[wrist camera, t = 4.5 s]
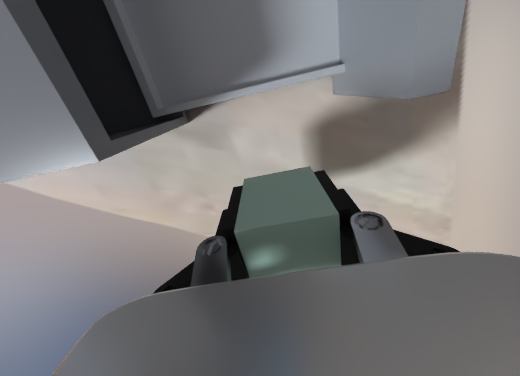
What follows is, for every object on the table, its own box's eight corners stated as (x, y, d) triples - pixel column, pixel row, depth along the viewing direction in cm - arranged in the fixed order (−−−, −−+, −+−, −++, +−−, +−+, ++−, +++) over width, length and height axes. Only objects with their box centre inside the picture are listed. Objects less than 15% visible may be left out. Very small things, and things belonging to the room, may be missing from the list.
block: (244, 179, 12) (233, 231, 8) (309, 166, 12) (339, 213, 7) (259, 234, 14) (258, 302, 10) (316, 225, 14) (342, 291, 9)
